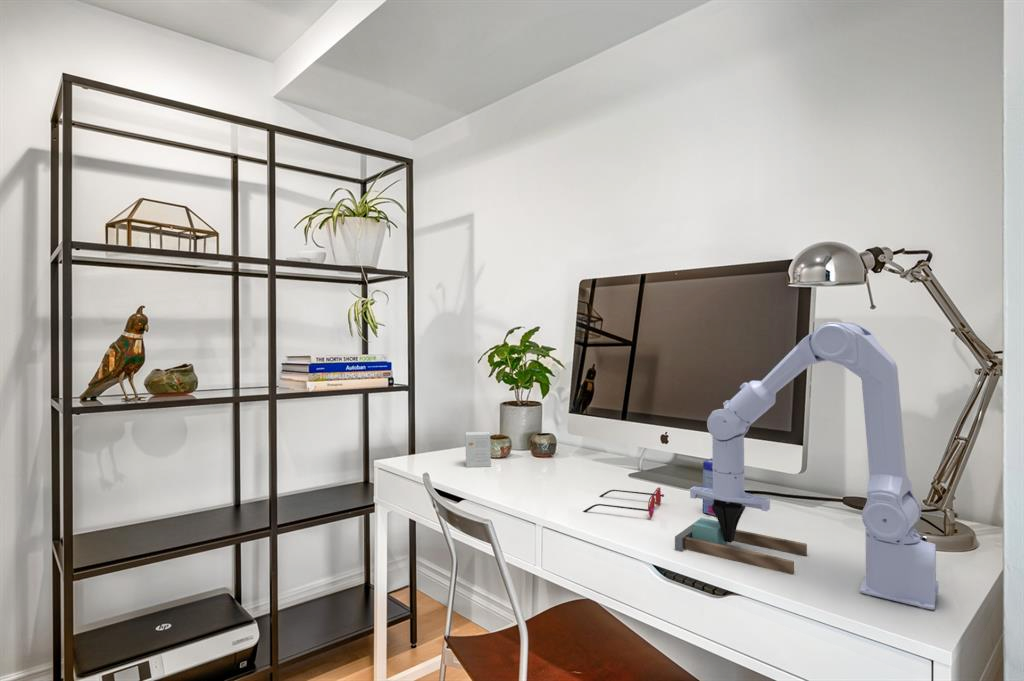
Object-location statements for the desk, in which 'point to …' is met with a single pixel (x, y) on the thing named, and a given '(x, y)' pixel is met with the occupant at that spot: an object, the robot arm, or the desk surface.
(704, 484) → the ink cartridge box
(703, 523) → the block
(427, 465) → the desk surface
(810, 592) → the desk surface
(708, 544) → the guide track
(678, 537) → the end stop
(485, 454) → the small box
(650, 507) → the glasses
